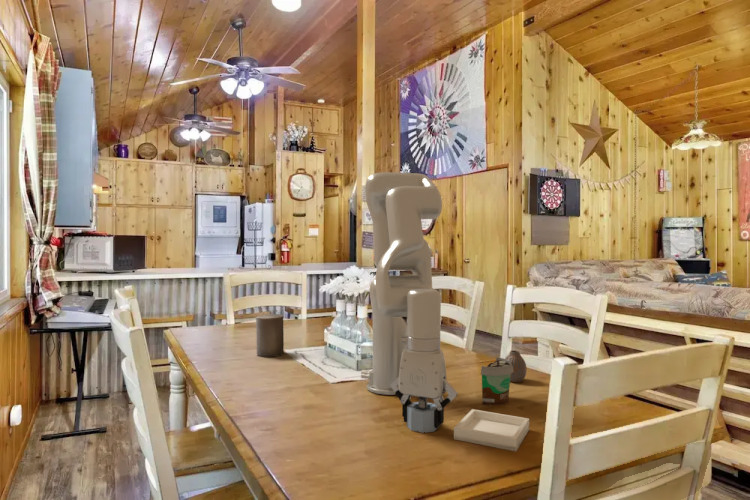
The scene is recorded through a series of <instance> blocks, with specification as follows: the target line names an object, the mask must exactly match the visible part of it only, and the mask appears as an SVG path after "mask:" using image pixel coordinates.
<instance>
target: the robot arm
mask: <svg viewBox="0 0 750 500" xmlns="http://www.w3.org/2000/svg"><path fill="white" fill-rule="evenodd" d="M364 194H365V201H366V205H367V209H368V211H369V214H370V217H371V223H372V238H373V239H372V240H373V241H372V242H373V244H372V245H373V260H374V263H375V265H374V266H376V271H375V278H374V279H373V280H372V281H371V283H370V285H369V297H370V303H371V312H372V314H371V315H372V370H368V369H362V370H361V373H360V378H361V379H367V380H368V382H367V384H366V388H367V390H368V391H369V392H371V393H373V394H378V395H386V396H394V395H395V397H396V398H398V400H400V401H399V402H400V405H402V406H401V407H402V409H401V410H402V411H401V413H402V414H401V415H402V417H403V422H404V423H407V406H408V405H409V404H411V403H413V401H412V400H411V398H412V397H423V398H427V399H431V400H433V403H434V404H435V405H436V409H435V411H434V427H435V428H437V429H438V427H439V428H440V426H442V425H443V423H444V420H445V418H444V417H445V407H446V406H447V405H449V404H450V403H451V402H452V401H453V400H454V399H455V398H456V397H457V396H458V394H459V393H458V391H457V390H456V389H455V388H454V387H453V386H452V385H451V383H450V382H448V381H447V367H446V366H447V365H446V359H445V354H444V351H443V350H441V307H442V305H441V304H442V303H441V298H442V297H441V293H440V291H438V290H437V289H434V288H433V277H432V276H433V275H432V273H433V272H432V271H433V270H432V258H431V257H432V256H431V255H432V254H431V249H430V245H429V243H428V242H427V240H426V239H425V238H424V237H425V236H424V233H423V224H422V220H436V219H438V218H439V217H440V216H441V214H442V211H443V200H442V195H441V193H440V191H439V189H438V187H437V186H436V185H435V183H434V182H433V181H432V180H431V179H430V178H429V176H427V175H426V174H423V173H419V172H418V173H414V172H412V173H411V172H394V171H392V172H389V171H386V172H385V171H384V172H382V171H381V172H377V173H376V172H374V173H372V174H369V176H367V179H366V181H365V187H364ZM390 271H395V272H396V271H397V272H398V271H399V272H400V271H406V272H407V271H409V272H410V271H411V272H412V275H411V274H410V275H398V274H397V275H396V274H395V275H393V274H392V275H389V272H390ZM403 317H405V318H406V321H405V320H404V318H403ZM446 393H447V394H448V396H446V397H445V398H444V396H443V395H444V394H446Z"/></svg>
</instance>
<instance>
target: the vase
mask: <svg viewBox="0 0 750 500" xmlns="http://www.w3.org/2000/svg"><path fill="white" fill-rule="evenodd" d="M505 359H507V360H509V361H510V362H511V364H512V366H513V373H511V375H510V383H521V382H522V381H523V380H524V379H525V378H526V375H527V372H528V371H527V368H528V367H527V363H526V362H525V359H524V357H523V356H521V353H520V352H519V350H510V352H509V353H508V355H507V356H506V357H505Z"/></svg>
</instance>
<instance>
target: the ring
mask: <svg viewBox="0 0 750 500" xmlns="http://www.w3.org/2000/svg"><path fill="white" fill-rule="evenodd" d="M435 409H436V405H435V403H434V402H428V401H427V410H419V409H418V401H416V402H415V401H414V402H412V403H411V404H409V405H408V406H407V422H406V427H407V428H408V429H409V430H410V431H413V432H417V431H418V433H423V434H425V433H433V432H435V431H436V430H438V428H440V426H439V427H438V428H435V427H434V411H435ZM424 432H425V433H424Z"/></svg>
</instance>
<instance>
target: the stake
mask: <svg viewBox="0 0 750 500" xmlns="http://www.w3.org/2000/svg"><path fill="white" fill-rule="evenodd" d="M417 402H418V409H419V410H427V402H428V398H423V397H418V401H417Z"/></svg>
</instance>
